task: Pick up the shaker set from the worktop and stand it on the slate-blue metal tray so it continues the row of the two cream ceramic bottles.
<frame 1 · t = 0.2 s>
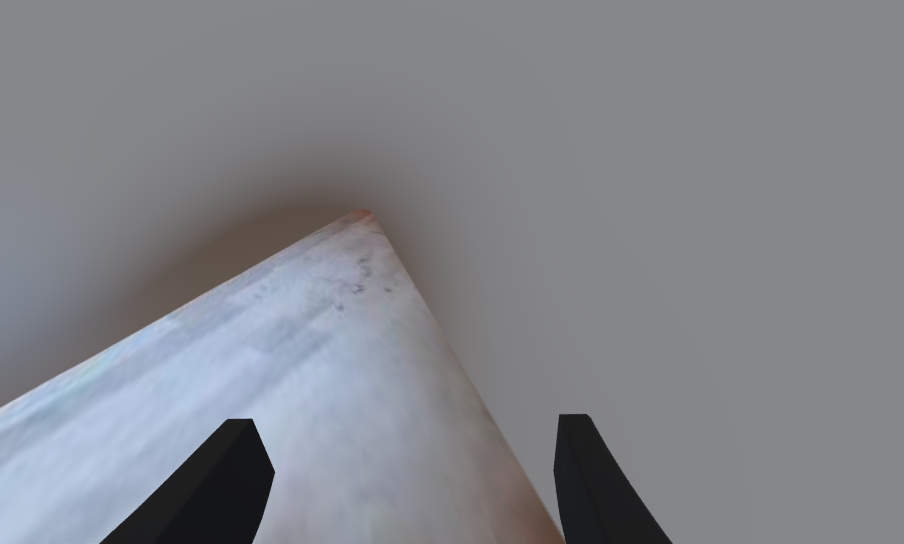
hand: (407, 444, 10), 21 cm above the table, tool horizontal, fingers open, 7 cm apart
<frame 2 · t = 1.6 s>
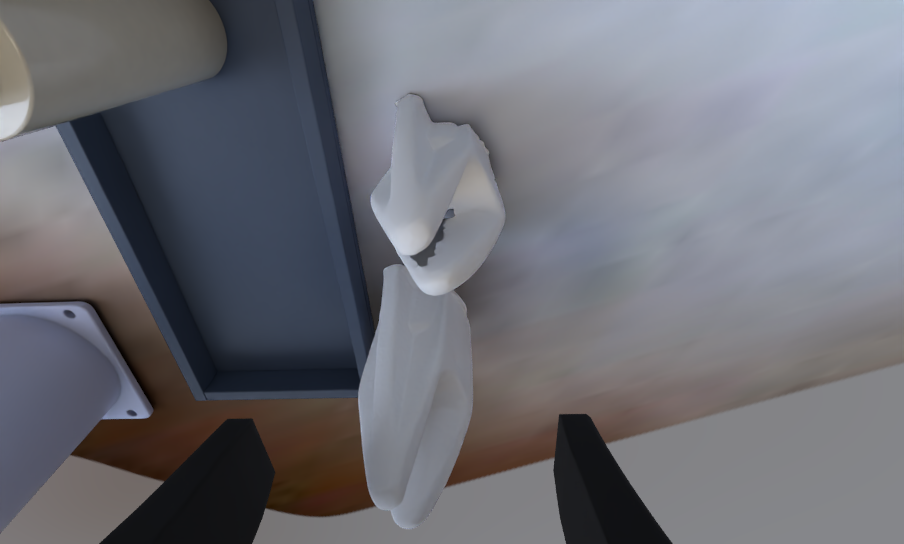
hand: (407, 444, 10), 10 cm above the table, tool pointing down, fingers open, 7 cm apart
tray: (229, 158, 18), on the table
bottle 1: (179, 32, 15), resting on tray
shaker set: (435, 240, 20), on the table
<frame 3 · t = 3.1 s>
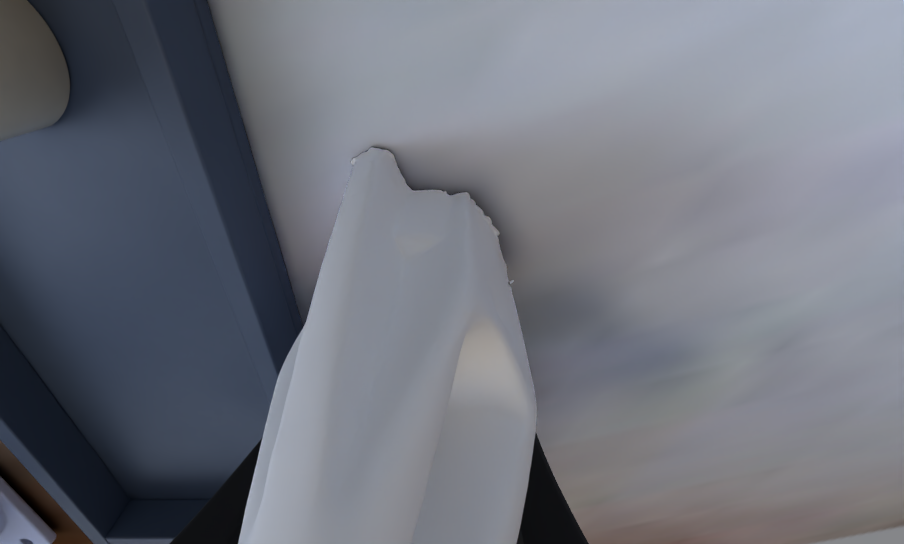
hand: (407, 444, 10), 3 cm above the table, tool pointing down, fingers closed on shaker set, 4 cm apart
tray: (107, 238, 12), on the table
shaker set: (419, 344, 14), on the table, touching gripper
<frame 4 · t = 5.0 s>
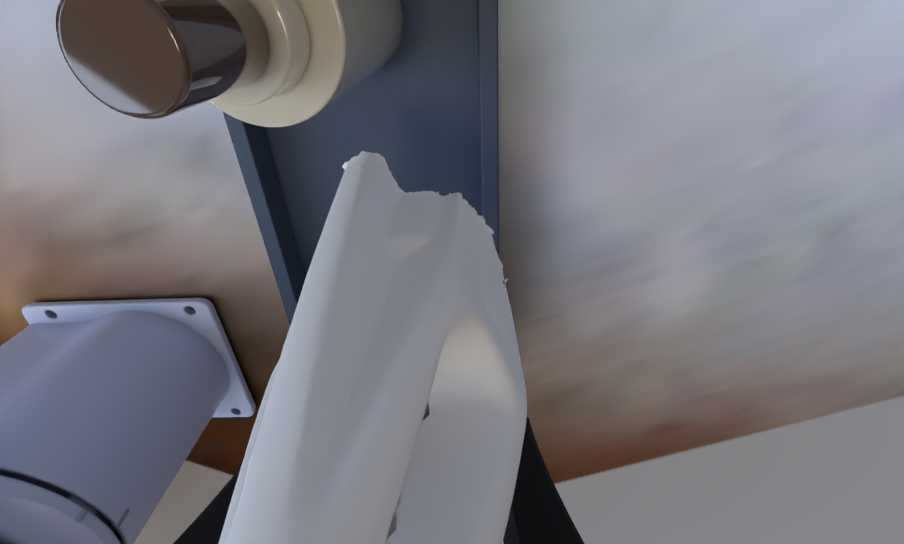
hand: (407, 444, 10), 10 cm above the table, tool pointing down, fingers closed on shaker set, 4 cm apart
tray: (377, 150, 17), on the table
bottle 1: (355, 19, 14), resting on tray
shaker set: (420, 345, 14), point 7 cm above the table, touching gripper
when the fingers open (4 cm above the table, at t = 7.2 s): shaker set stays where it is, resting on tray.
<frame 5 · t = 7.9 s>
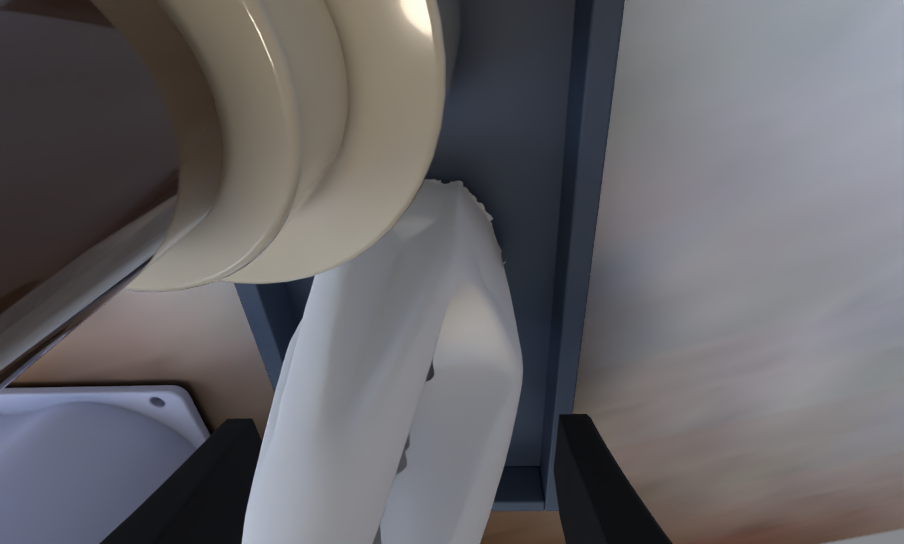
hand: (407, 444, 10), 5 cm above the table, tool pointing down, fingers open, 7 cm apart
tray: (412, 206, 12), on the table
bottle 1: (388, 23, 10), resting on tray
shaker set: (423, 329, 14), resting on tray
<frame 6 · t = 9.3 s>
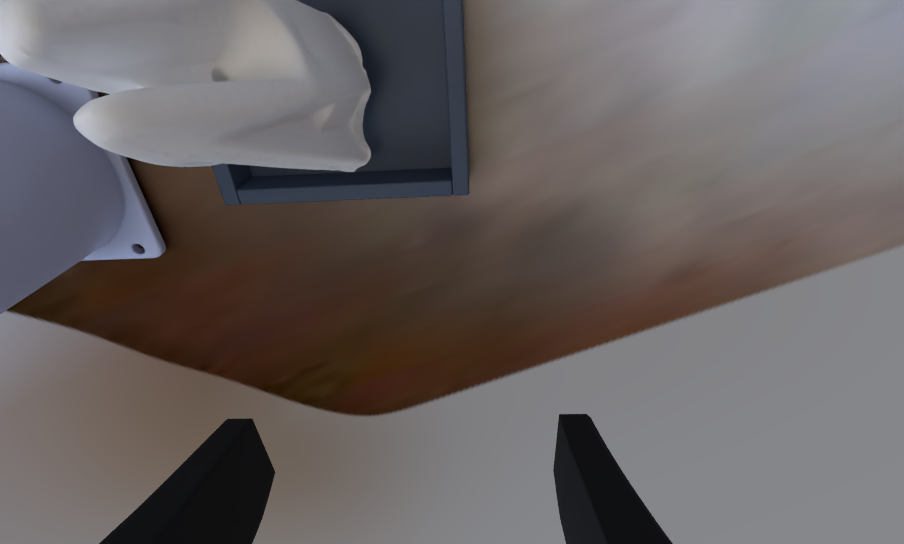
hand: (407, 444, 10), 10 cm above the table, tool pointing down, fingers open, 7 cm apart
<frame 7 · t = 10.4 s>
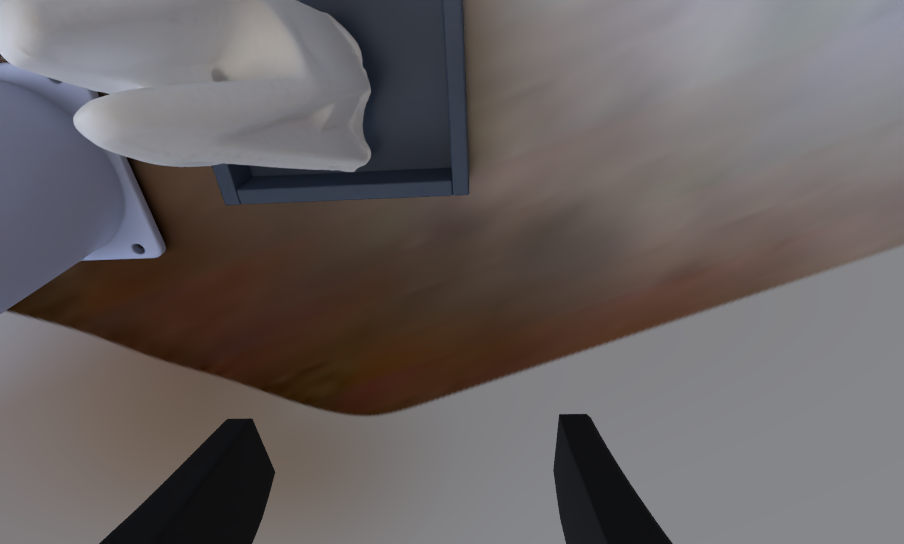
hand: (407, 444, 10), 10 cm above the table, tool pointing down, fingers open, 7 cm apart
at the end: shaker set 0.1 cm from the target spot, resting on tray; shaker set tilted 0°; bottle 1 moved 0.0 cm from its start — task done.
